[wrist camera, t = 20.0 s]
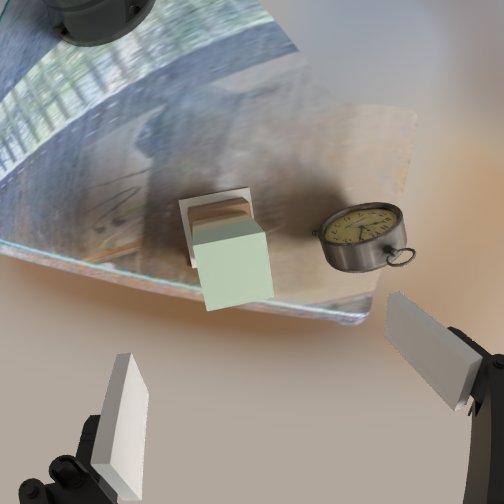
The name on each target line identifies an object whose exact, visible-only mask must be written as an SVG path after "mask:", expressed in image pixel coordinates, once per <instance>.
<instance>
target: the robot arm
mask: <svg viewBox="0 0 504 504" xmlns="http://www.w3.org/2000/svg"><path fill="white" fill-rule="evenodd" d="M43 1H44V2H45V3H46V5H47V10H48V16H49V21H50V24H51V26H52V28H53V30H54V31H55V32H56V33H57V34H58V35H59V36H60V37H61V38H62V39H64V40H65V41H66V42H68V43H70V44H73V45H77V46H84V47H90V46H98V45H103V44H106V43H109V42H112V41H114V40H117V39H119V38H121V37H123V36H124V35H126V34H128V33H129V32H130V31H132V30H133V29H134V28H136V27H137V26H138V25H139V24H140V23H141V22H142V21H143V20H144V19H145V18H146V16H147V15H148V14H149V12H150V11H151V9H152V7H153V5H154V3H155V0H43ZM385 338H386V340H387V341H388V342H389V343H390V344H391V345H392V346H393V347H394V348H395V349H396V350H397V351H398V352H399V353H400V354H401V355H402V356H403V357H404V358H405V360H407V361H408V363H409V364H410V365H411V366H412V367H413V368H414V369H415V370H416V371H417V372H418V373H419V374H420V375H421V376H422V378H423V379H424V380H425V381H426V382H427V383H428V384H429V385H430V386H431V387H432V388H433V389H434V390H435V391H436V392H437V394H438V395H439V396H440V397H441V398H442V399H443V400H444V401H445V402H446V403H447V404H448V406H449V407H450V408H451V409H452V410H453V411H456V410H458V409H459V408H461V407H463V406H464V405H466V404H467V401H468V399H469V396H470V395H471V396H472V397H473V398H474V401H473V403H472V406H471V408H470V410H469V413H468V416H470V414H471V412H472V429H471V444H470V456H469V466H468V473H467V481H466V488H465V494H464V500H463V504H504V355H502V354H495V355H491V354H490V353H488V352H487V351H486V350H485V349H483V348H482V347H481V346H480V345H478V344H477V343H476V342H475V341H472V339H470V338H469V337H467V335H466V334H464V333H463V332H462V331H460V330H459V329H456V328H453V327H448V328H446V327H445V326H443V325H442V324H441V323H439V322H438V321H437V320H436V319H434V318H433V317H432V316H430V315H429V314H428V313H426V312H425V311H424V310H423V309H422V308H420V307H419V306H418V305H416V304H415V303H414V302H412V301H411V300H409V299H408V298H407V297H406V296H404V295H403V294H402V293H400V292H395V293H392V294H389V295H388V296H387V311H386V326H385ZM148 399H149V393H148V390H147V388H146V386H145V384H144V381H143V379H142V377H141V375H140V372H139V370H138V368H137V365H136V363H135V361H134V358H133V356H132V354H131V353H125V354H118V355H117V357H116V360H115V363H114V367H113V370H112V374H111V377H110V381H109V385H108V389H107V393H106V396H105V400H104V404H103V408H102V412H101V415H90V417H89V418H88V419H87V421H86V422H85V423H84V426H83V430H82V435H81V437H80V442H79V445H78V449H77V453H76V457H74V456H71V455H62V456H59V457H57V458H56V459H55V460H53V461H52V463H51V464H50V466H49V475H50V477H51V478H52V479H53V480H54V481H55V483H51V484H46V485H44V484H43V483H42V482H41V481H40V480H38V479H35V478H32V479H28V480H26V481H24V482H23V483H22V484H21V486H20V488H19V500H20V504H118V503H117V496H118V495H119V497H120V498H121V499H123V501H142V478H143V477H142V476H143V459H144V444H145V431H146V419H147V408H148Z"/></svg>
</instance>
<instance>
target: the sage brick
mask: <svg viewBox="0 0 504 504" xmlns="http://www.w3.org/2000/svg"><path fill="white" fill-rule="evenodd" d="M192 244H193V251H194V255H195V260H196V264H197V269H198V274H199V278H200V282H201V287H202V291H203V295H204V300H205V304H206V308H207V311H211V310H216V309H220V308H225V307H230V306H235V305H240V304H244V303H249V302H254V301H258V300H263V299H267V298H272V297H274V293H273V285H272V278H271V271H270V264H269V257H268V250H267V243H266V236H265V231H264V230H263V229H262V228H261V227H260V226H259V225H258V224H257V223H256V222H255V221H254V220H250V221H245V222H239V223H234V224H229V225H224V226H219V227H214V228H209V229H203V230H198V231H194V232H192Z"/></svg>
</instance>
